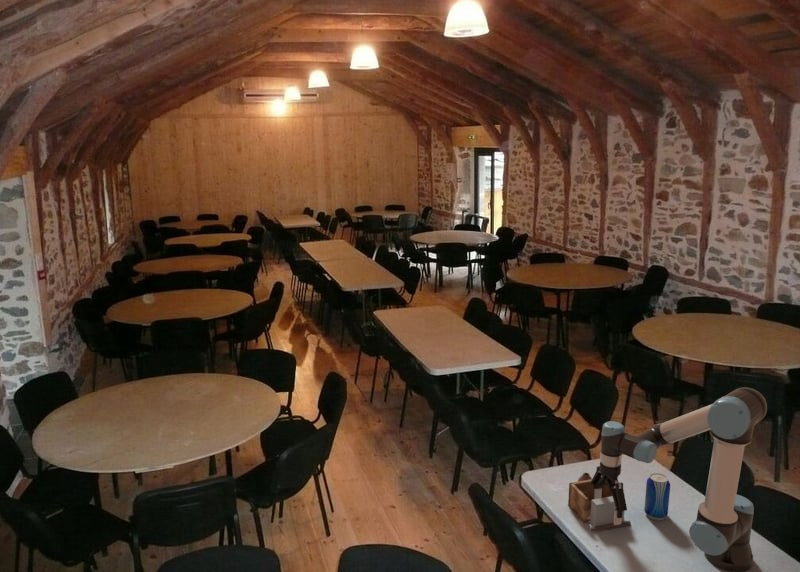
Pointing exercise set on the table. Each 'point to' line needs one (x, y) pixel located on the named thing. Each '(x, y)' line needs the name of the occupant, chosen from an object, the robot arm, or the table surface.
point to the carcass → (588, 502)
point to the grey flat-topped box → (603, 511)
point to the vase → (584, 477)
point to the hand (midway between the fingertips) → (607, 513)
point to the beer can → (657, 496)
